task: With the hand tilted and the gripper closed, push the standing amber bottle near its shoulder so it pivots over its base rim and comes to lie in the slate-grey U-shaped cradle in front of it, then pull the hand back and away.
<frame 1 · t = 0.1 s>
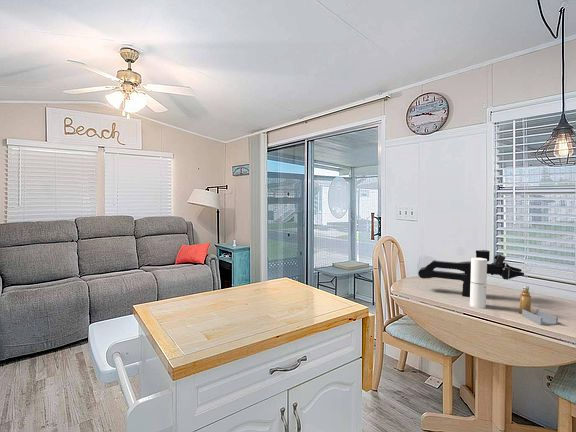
hand: (522, 272, 176), 17 cm above the table, tool horizontal, fingers open, 9 cm apart
grey cradle: (539, 320, 150), on the table
cylindrical container: (477, 306, 170), on the table
amber bottle: (525, 313, 159), on the table
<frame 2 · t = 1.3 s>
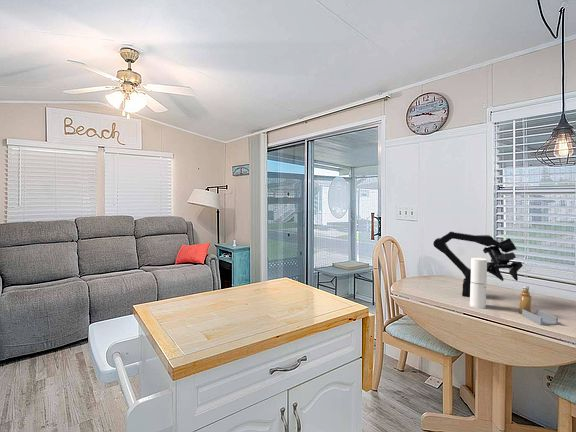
hand: (510, 280, 169), 14 cm above the table, tool tilted 45°, fingers open, 7 cm apart
nothing on the table moved.
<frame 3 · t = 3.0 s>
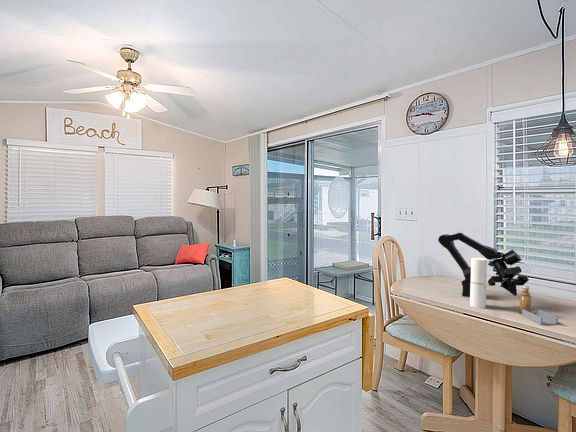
hand: (515, 295, 165), 7 cm above the table, tool tilted 45°, fingers closed
nothing on the table moved.
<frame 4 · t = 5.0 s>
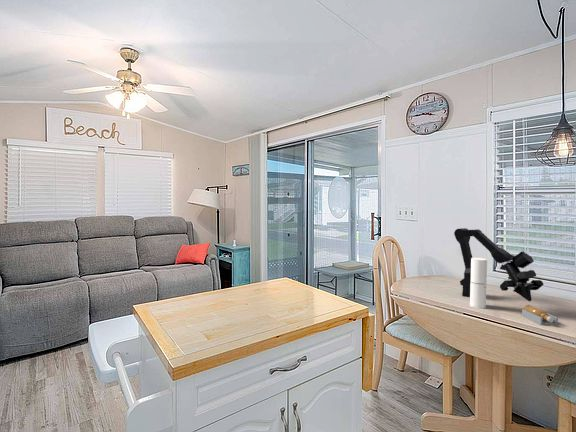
hand: (530, 300, 156), 7 cm above the table, tool tilted 45°, fingers closed
amber bottle: (528, 309, 157), point 3 cm above the table, tilted 90°, touching grey cradle
everything else where it was.
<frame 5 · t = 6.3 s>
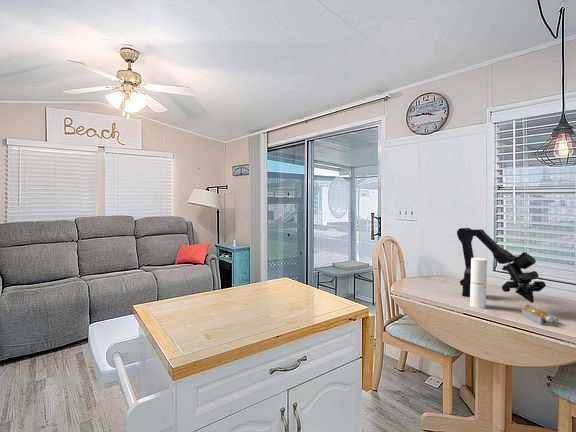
hand: (532, 302, 154), 7 cm above the table, tool tilted 45°, fingers closed
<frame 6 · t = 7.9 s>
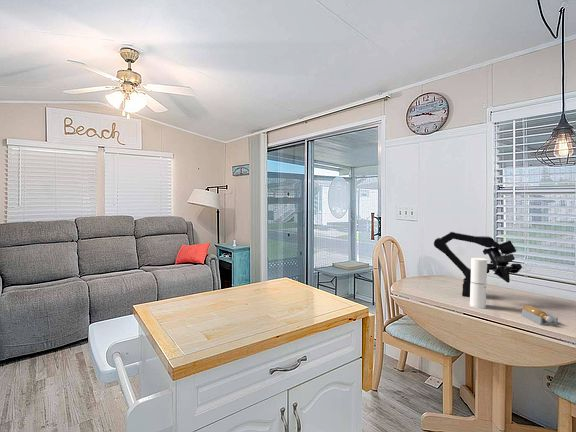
hand: (508, 282, 170), 13 cm above the table, tool tilted 45°, fingers closed
nothing on the table moved.
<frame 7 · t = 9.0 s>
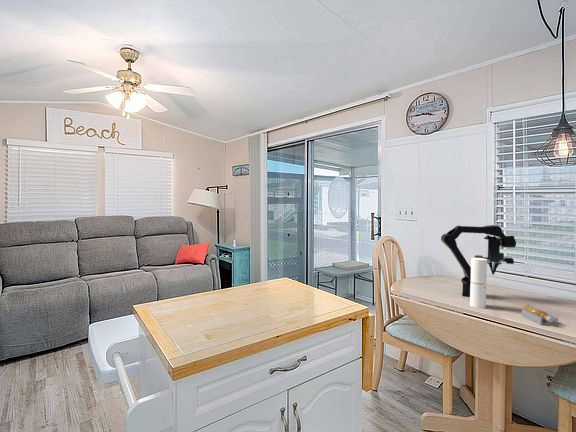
hand: (493, 274, 186), 13 cm above the table, tool pointing down, fingers closed
nothing on the table moved.
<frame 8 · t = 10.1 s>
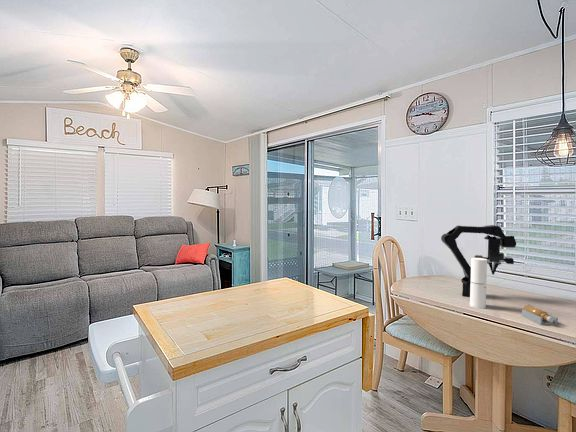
hand: (493, 274, 186), 13 cm above the table, tool pointing down, fingers closed
nothing on the table moved.
at the end: amber bottle tilted 90°; amber bottle touching grey cradle; amber bottle inside the target area on the grey cradle (0.3 cm from its centre), point 2.8 cm above the grey cradle's base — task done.
